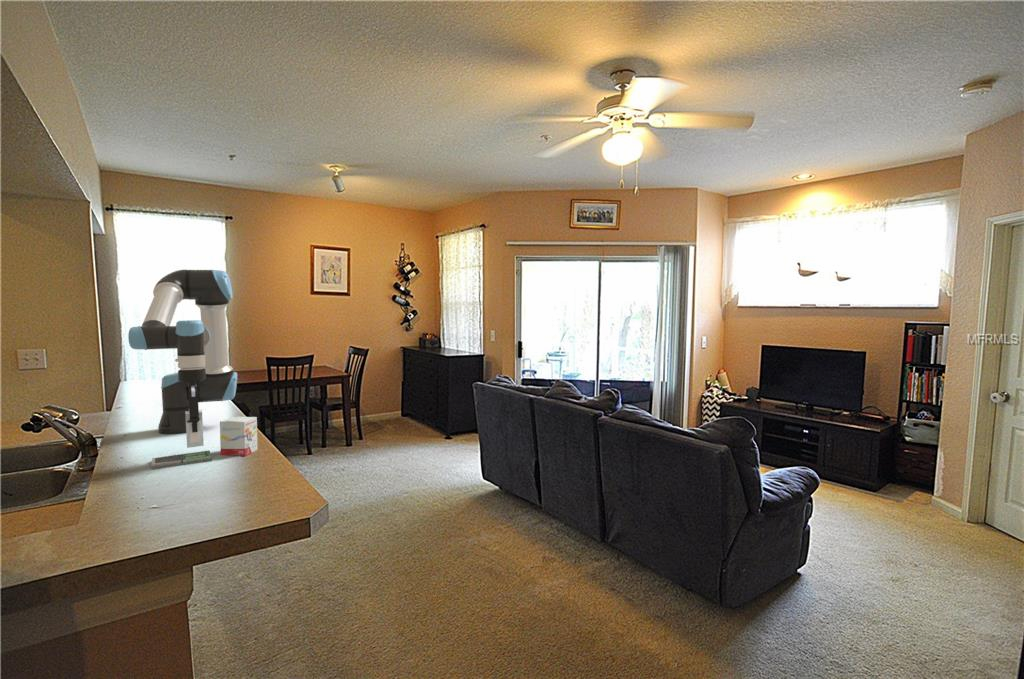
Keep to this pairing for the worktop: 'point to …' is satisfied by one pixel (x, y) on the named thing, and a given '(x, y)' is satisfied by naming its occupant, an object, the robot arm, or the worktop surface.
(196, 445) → the plug
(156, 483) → the worktop surface
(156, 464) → the panel
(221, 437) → the ink box
